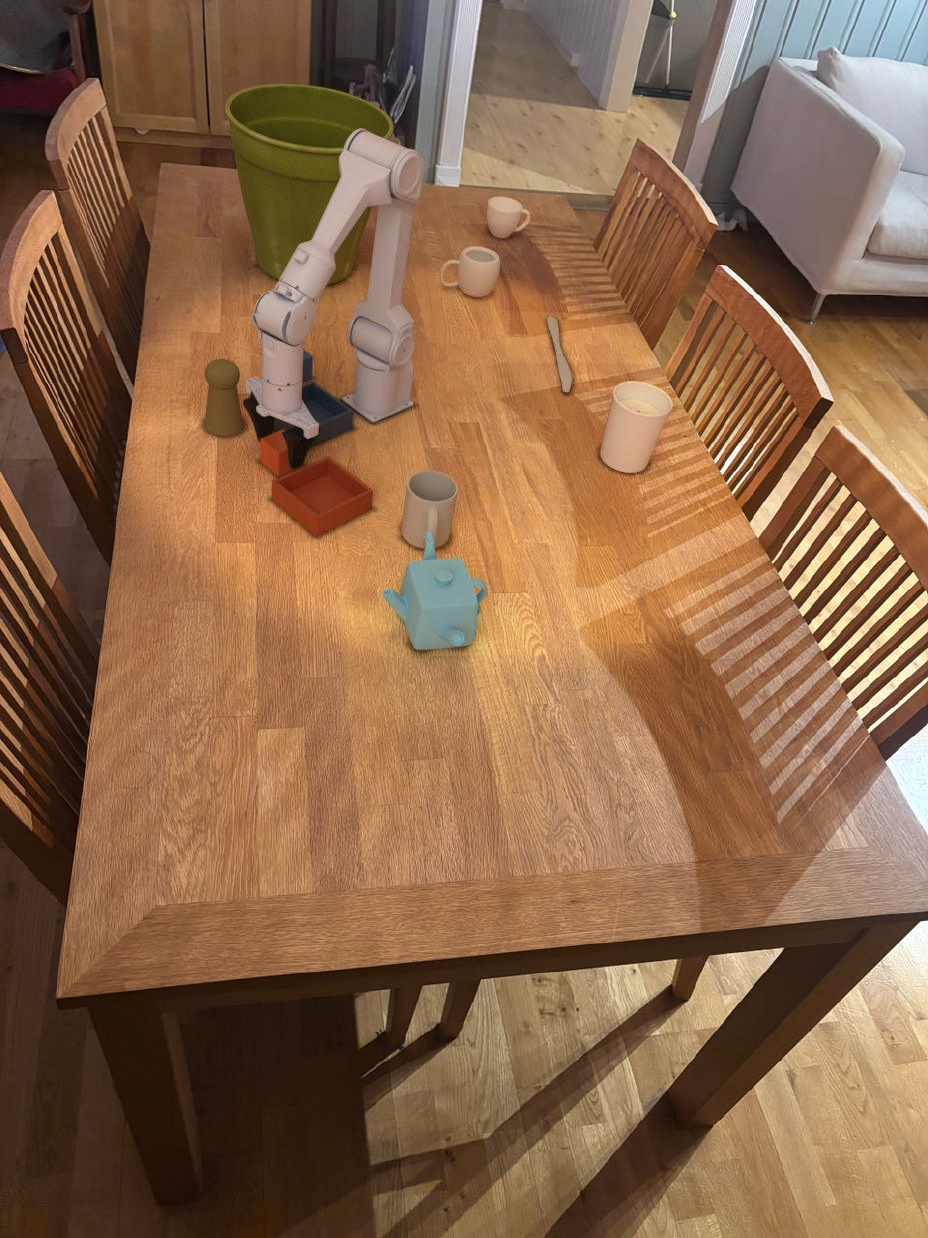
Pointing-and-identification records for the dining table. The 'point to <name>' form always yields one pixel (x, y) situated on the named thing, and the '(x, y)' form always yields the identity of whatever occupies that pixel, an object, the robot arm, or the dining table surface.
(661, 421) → the candle holder
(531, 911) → the dining table surface
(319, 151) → the plant pot
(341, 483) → the terracotta bin
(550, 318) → the butter knife
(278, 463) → the terracotta block
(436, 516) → the cup
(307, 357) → the blue block
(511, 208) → the cup
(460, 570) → the teapot
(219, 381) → the pepper mill
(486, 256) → the mug
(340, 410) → the blue bin
